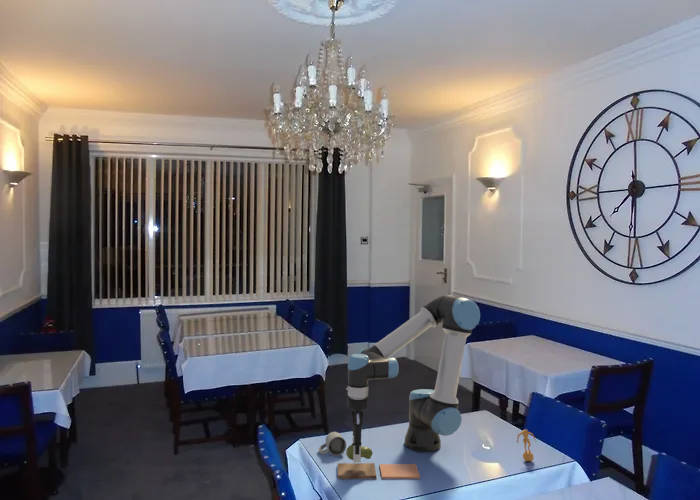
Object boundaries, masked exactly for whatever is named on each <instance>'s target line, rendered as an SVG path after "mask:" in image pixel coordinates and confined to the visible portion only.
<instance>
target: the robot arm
mask: <svg viewBox="0 0 700 500" xmlns="http://www.w3.org/2000/svg"><path fill="white" fill-rule="evenodd" d="M480 319H481V312H480V308H479V306H478V305H477V303H476V302H475V301H474V300H471V299H469V298H466V297H461V296H456V295H453V294H444V295H440V296H438V297H436V298H433V300H431V301H429V302H427V303H426V304H425V305H423V306H422V307H421V308H420V309H419V312H418V313H417V314H415V315H414V316H412V317H411V318H410V319H408V320H406V321H405V322H404V323H402V324H401V325H399V326H398V327H397V328H396V329H394V330H393V331H391V332H390V333H389V334H387V335H386V336H385V337H383V338H382V339H380V340H378V341H377V342H376V343H375V344H373V345H372V346H371V347H369V348H362V349H360V350H359V351H358V352H357V353H353V354H351V355H349V357H348V361H347V387H346V388H345V390H346V391H347V403H346V404H347V407H348V409H351V417H352V418H351V420H352V443H351V445H353V460H352V463H361V461H362V460H361V458H362V457H361V446H362V426H363V418H364V413H363V410H366V409H367V408H368V407H369V405H368V404H369V403H368V401H369V398H368V396H369V381H373V380H385V379H392V378H396V377H397V376H398V375H399V372H400V371H399V370H400V369H399V368H400V367H399V362H398V360H397V359H396V358H395V357H391V356H393V355H394V354H396V353H397V352H398V351H399V350H401V349H403V348H404V347H405V346H407V345H408V344H409V343H411V342H412V341H413V340H415V339H416V338H418V337H419V336H420V335H422V334H423V333H425V332H426V331H427V330H428V329H430V328H431V327H432V328H436V327H438V325H440V324H441V325H442V326H441V328H442V330H443V332H444V335H443V336H444V337H443V343H442V348H441V352H440V353H441V354H440V357H439V358H440V359H439V364H438V370H437V376H436V381H435V386H434V389H429V388H428V389H427V388H425V389H424V388H420V389H414V390H412V391H410V393H409V396H408V398H409V399H408V401H409V402H408V403H409V405H408V409H409V410H408V411H409V412H408V428H407V430H406V434H405V436H404V445H405V446H406V447H407V448H408V449H410V450H413V451H416V452H422V453H424V452H425V453H429V452H435V451H438V450H440V449H441V445H442V440H441V437H440V435H441V436H444V437H445V436H446V437H447V436H451V435H453V434H454V433H456V432H457V431H458V430H459V428H460V426H461V424H462V421H463V420H462V414H461V412H460V410H458V409H459V403H460V402H459V399H458V398H457V393H458V392H457V391H458V386H459V382H460V381H459V380H460V375H461V370H462V365H463V359H464V354H465V353H464V352H465V347H466V342H467V338H468V337H469V336H471V334H472V330H473V329H475V328H476V326H478V325H479V322H480V321H481V320H480Z"/></svg>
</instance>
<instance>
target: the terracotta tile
mask: <svg viewBox="0 0 700 500" xmlns="http://www.w3.org/2000/svg"><path fill="white" fill-rule="evenodd" d="M379 472H380V475H381V479H382V480H391V479H392V480H399V479H400V480H402V479H403V480H408V479H409V480H416V479H417V480H420V479H421V475H420V472H419V469H418V467H417V464H416V463H415V464H414V463H405V464H404V463H403V464H402V463H399V464H398V463H393V464H392V463H390V464H389V463H388V464H387V463H383V464H382V463H380V464H379Z"/></svg>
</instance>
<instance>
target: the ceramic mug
mask: <svg viewBox="0 0 700 500" xmlns="http://www.w3.org/2000/svg"><path fill="white" fill-rule="evenodd" d="M346 450H347V441H346V439H345V438H344V437H343V436H342V434H341V433H339V432H338V431H332V432H329V433H328V434H327V435H326V437H325V442H324V443H323V444H322V445H320V446H319V447H318V452H319V454H320V455H326V454H328V453H329V454H330V455H332V456H335V457H337V456H342V455H343V454H344V453H345V452H346Z"/></svg>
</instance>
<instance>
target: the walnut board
mask: <svg viewBox="0 0 700 500" xmlns="http://www.w3.org/2000/svg"><path fill="white" fill-rule="evenodd" d="M376 471H377V469H376V465H375V463H374V462H362V463H361V462H350V463H349V462H346V463H345V462H344V463H343V462H339V463H337V479H338V480H377V472H376Z"/></svg>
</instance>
